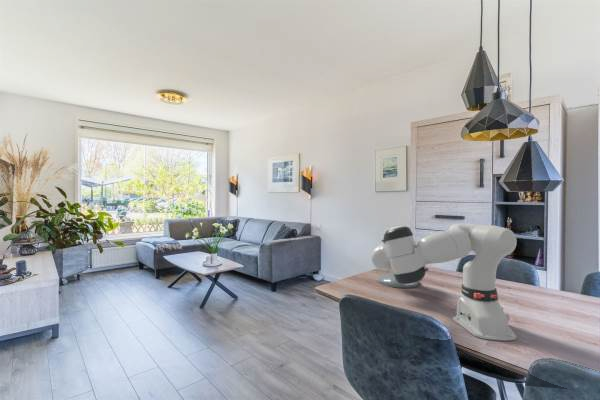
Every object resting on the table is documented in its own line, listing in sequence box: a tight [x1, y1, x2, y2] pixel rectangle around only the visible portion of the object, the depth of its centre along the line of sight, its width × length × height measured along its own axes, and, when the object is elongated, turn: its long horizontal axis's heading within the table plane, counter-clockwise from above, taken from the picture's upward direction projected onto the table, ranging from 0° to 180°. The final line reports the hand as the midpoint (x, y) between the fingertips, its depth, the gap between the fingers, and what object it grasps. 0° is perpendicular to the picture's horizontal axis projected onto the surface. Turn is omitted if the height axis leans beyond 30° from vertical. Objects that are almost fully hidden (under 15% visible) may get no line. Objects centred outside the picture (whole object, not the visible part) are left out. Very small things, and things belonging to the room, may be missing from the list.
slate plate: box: [377, 272, 419, 289], centre depth 170 cm, size 22×22×2 cm
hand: (396, 254), depth 170 cm, fingers closed on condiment, 6 cm apart
